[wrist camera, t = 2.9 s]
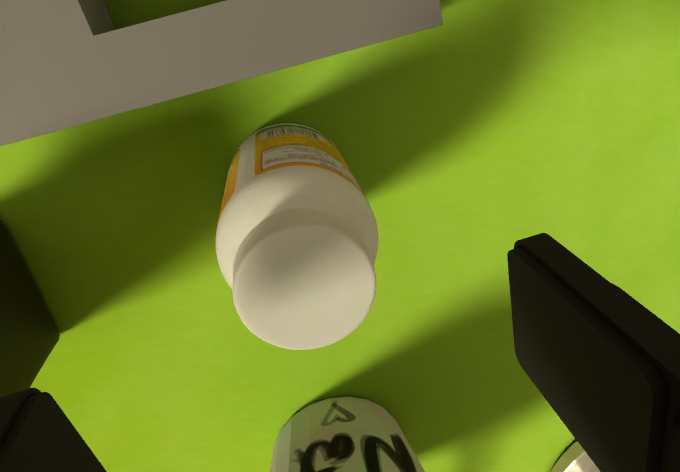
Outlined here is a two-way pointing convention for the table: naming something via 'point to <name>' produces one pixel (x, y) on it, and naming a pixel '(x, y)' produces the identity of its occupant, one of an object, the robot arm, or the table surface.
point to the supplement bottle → (296, 239)
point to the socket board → (169, 52)
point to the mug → (343, 440)
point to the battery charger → (21, 321)
